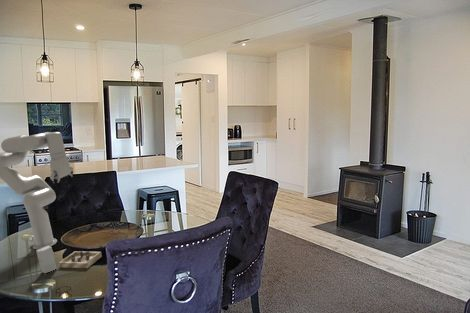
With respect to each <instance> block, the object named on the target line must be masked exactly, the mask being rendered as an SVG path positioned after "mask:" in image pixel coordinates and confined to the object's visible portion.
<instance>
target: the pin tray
mask: <svg viewBox="0 0 470 313" xmlns="http://www.w3.org/2000/svg"><path fill="white" fill-rule="evenodd" d="M102 257H103V255H102V251H88V250H87V251H83V250H81V251H80V250H79V251H77V250H76V251H75V250H74V251H73V252H72V253H70V254H69V255H67V256H66V257H64V258H63V259H62V260H60V261H59V262H58V265H59V267H60V268H69V269H70V268H71V269H72V268H74V269H75V268H76V269H89V268H90V267H92V265H94V264H95V263H97V261H99V260H100V259H101V258H102Z"/></svg>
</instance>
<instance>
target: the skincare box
mask: <svg viewBox="0 0 470 313" xmlns="http://www.w3.org/2000/svg"><path fill="white" fill-rule="evenodd" d="M35 252H36V256H37V261H38V263H39V264H38V265H39V267H40V271H42V272H44V273H46V272H49V271H52V272H54V271H56V270H58V267H57V263H56V259H55V255H54V250H53V247H52V246H46V247H43V248H41V249H35ZM55 269H56V270H55ZM53 270H54V271H53ZM42 272H41V273H42Z"/></svg>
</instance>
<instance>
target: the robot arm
mask: <svg viewBox="0 0 470 313" xmlns="http://www.w3.org/2000/svg"><path fill="white" fill-rule="evenodd" d="M46 147H48V148H47V149H48V153H49V157H50V160H49V168H50V173H51V174H50V175H49V178H50V180H51V182H52V183H53V184H54V187H55V190H56V191H62V190H63V188H62V183H61V182H60V181H61V179H63V178H65V177H66V181H67V185H74V180H73V175H74V167H72V166H71V165H70V162H69V158H68V157H67V152H66V148H65V145H64V139H63V134H62V133H61V132H59V131H53V132H50V131H45V132H40V133H37V134H32V135H31V134H30V135H24V134H23V135H16V136H11V137H7V138H4V140H2V141H1V145H0V148H1V150H2V151H3V152H2V153H0V180H2V181H3V182H5V184H6V185H7V186H8V187H9V188H10V189H11V190H12V191H14V193H15V194H16V195H18V196H19V197H24V198H23V206H24V208H25V210H26V212H27V215H28V218H29V223H30V227H31V230H32V235H33V237H31V239H30V241H29V242H30V243H33V245H32V248H33V249H34V250H39V249H41V248H43V247H46V246H50V247H52V246H54V245H56V243H57V242H58V239H56V238H54V235H53V230H52V226H51V222H50V218H49V214H48V212H47V211H46V210H45V209H44V207H45V206H47V205H50V204H52V203H53V202H54V201H56V198H57V195H56V192H55V190H54V189H53V188H52V187H51V186H50V185H49V184H48V183H47V182H46V181H45V180H44V179H43V178H42V177H40V176H39V175H35V174H33V175H29V176H23V175H22V174H21V173H20V172H19V171H17V170H14V169H13V168H10V167H13V166H17V165H20V164H22V163H23V162H24V161H25V159H26V157H27V154H28V152H29V151H35V150H39V149H43V148H46Z"/></svg>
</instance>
